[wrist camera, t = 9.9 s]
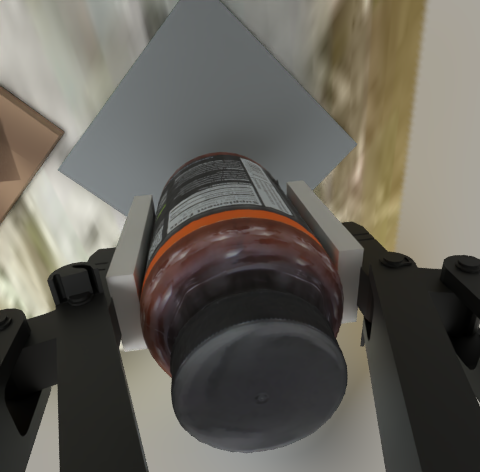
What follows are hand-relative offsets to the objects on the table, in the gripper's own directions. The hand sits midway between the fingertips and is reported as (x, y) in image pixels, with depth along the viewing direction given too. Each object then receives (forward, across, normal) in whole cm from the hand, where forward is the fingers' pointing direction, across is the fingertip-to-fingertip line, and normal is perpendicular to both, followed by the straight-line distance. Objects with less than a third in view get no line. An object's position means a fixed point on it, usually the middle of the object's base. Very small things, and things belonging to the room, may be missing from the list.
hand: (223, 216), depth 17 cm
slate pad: (+10, 0, 0) cm, 10 cm away
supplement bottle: (+2, 0, 0) cm, 2 cm away
